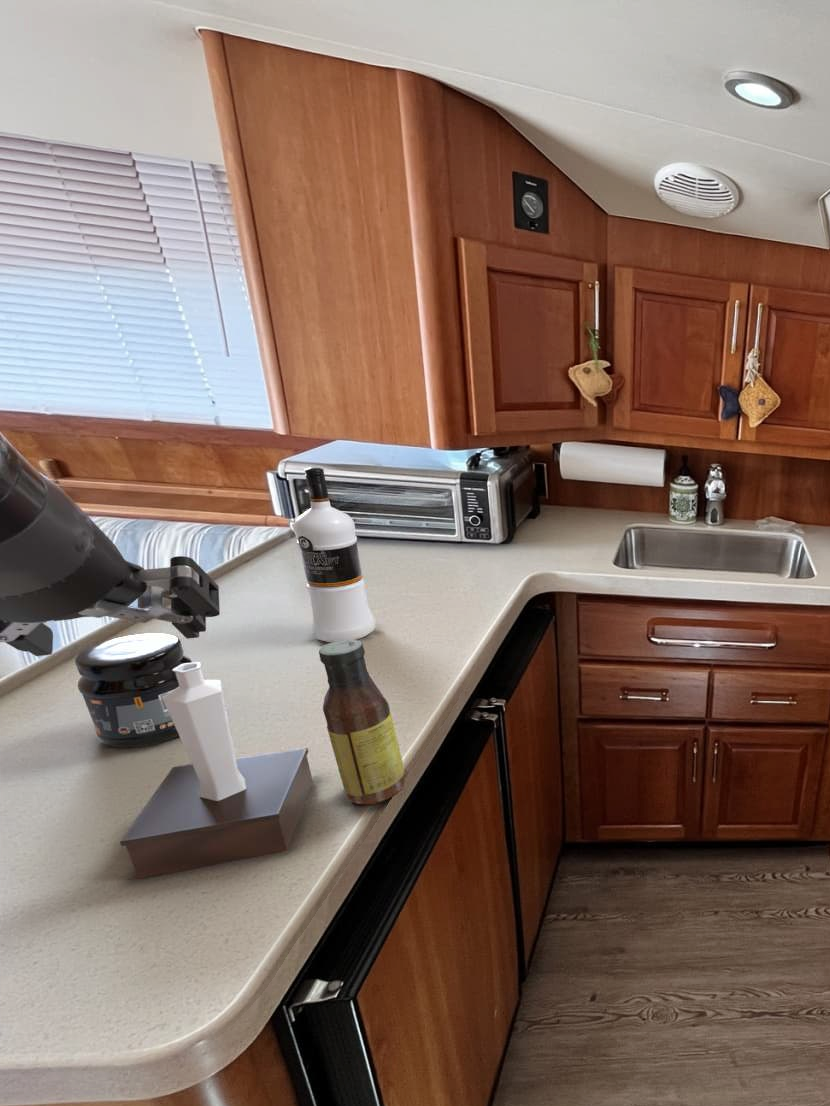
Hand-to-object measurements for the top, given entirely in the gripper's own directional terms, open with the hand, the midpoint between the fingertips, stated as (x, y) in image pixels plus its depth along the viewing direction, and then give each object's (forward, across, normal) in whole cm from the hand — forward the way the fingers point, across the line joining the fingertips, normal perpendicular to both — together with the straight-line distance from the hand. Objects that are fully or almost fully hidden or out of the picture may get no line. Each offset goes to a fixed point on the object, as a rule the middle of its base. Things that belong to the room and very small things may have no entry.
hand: (122, 635), depth 51 cm
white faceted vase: (+25, 0, +9) cm, 26 cm away
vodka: (+65, -8, -24) cm, 70 cm away
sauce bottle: (+29, -13, +12) cm, 34 cm away
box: (+28, 0, +12) cm, 31 cm away
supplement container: (+47, +12, -7) cm, 49 cm away
